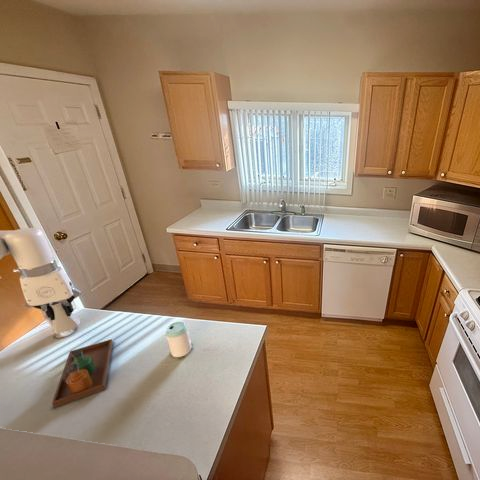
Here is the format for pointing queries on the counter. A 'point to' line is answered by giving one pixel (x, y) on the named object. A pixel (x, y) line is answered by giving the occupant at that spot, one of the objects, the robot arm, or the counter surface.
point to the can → (178, 339)
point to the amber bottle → (78, 379)
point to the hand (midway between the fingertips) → (62, 315)
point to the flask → (62, 318)
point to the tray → (99, 377)
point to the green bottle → (84, 361)
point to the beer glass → (52, 325)
